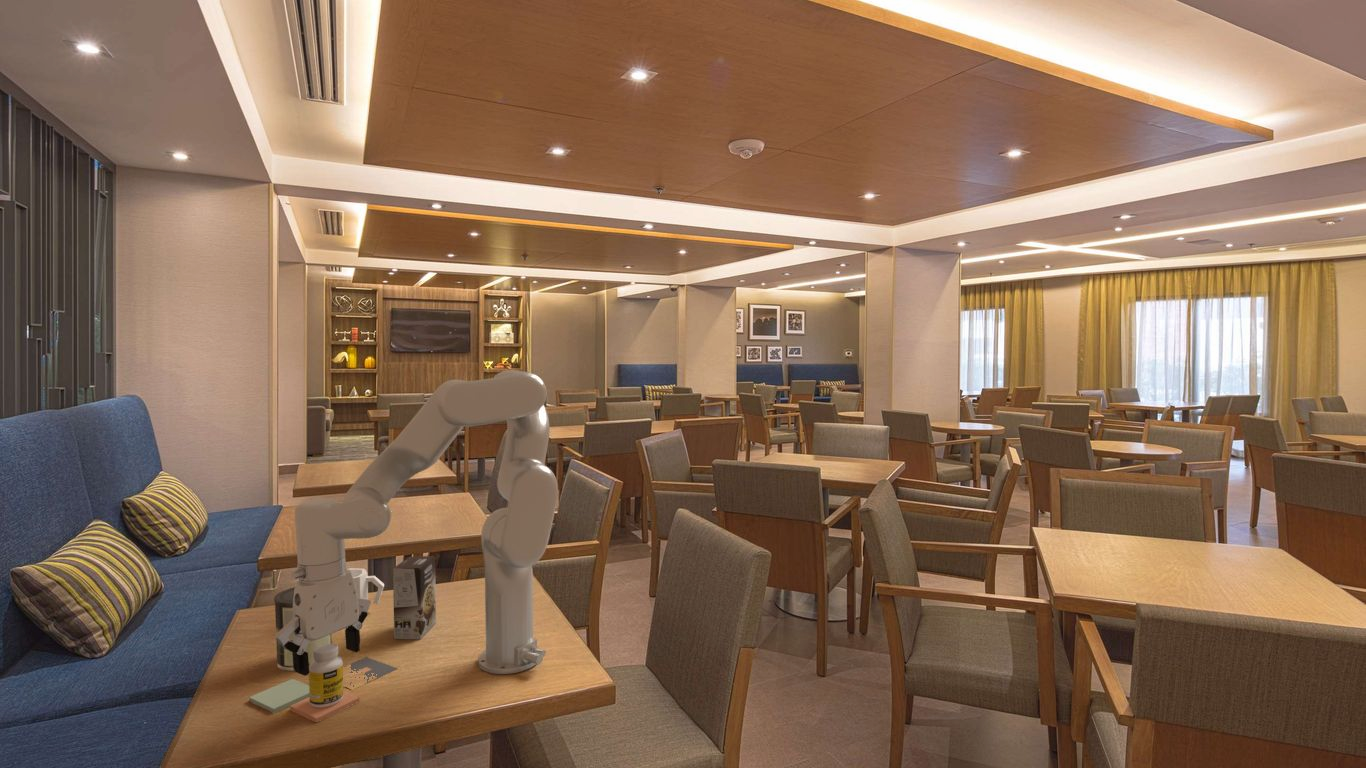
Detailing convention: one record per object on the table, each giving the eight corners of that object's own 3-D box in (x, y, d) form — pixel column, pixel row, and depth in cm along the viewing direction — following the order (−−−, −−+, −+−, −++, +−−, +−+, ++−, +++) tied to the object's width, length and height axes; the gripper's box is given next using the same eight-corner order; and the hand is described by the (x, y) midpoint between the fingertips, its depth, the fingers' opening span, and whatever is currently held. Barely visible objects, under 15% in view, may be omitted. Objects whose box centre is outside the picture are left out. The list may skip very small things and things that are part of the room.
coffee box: (421, 639, 151) (420, 568, 150) (393, 639, 151) (391, 567, 151) (437, 623, 160) (436, 555, 160) (410, 622, 161) (408, 555, 160)
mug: (326, 622, 161) (325, 581, 160) (334, 608, 169) (333, 569, 168) (382, 616, 164) (381, 576, 163) (387, 603, 172) (386, 565, 172)
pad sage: (317, 693, 128) (317, 689, 128) (274, 713, 121) (273, 708, 121) (292, 682, 132) (292, 678, 132) (249, 701, 125) (249, 697, 125)
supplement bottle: (323, 711, 120) (322, 657, 120) (302, 704, 122) (301, 651, 122) (350, 697, 125) (348, 645, 125) (329, 691, 127) (328, 639, 127)
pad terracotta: (359, 702, 125) (359, 697, 125) (317, 722, 118) (316, 718, 118) (332, 690, 129) (332, 686, 129) (290, 710, 122) (290, 706, 122)
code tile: (397, 670, 138) (397, 668, 138) (352, 692, 129) (352, 689, 129) (366, 658, 143) (366, 656, 143) (320, 678, 134) (320, 676, 134)
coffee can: (264, 667, 138) (261, 598, 138) (306, 645, 148) (304, 581, 147) (304, 674, 135) (301, 604, 134) (344, 652, 145) (342, 587, 144)
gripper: (286, 588, 113) (293, 688, 114) (378, 557, 128) (383, 646, 129) (260, 581, 117) (267, 678, 118) (353, 552, 131) (359, 638, 133)
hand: (328, 661), depth 123 cm, fingers open, 9 cm apart
